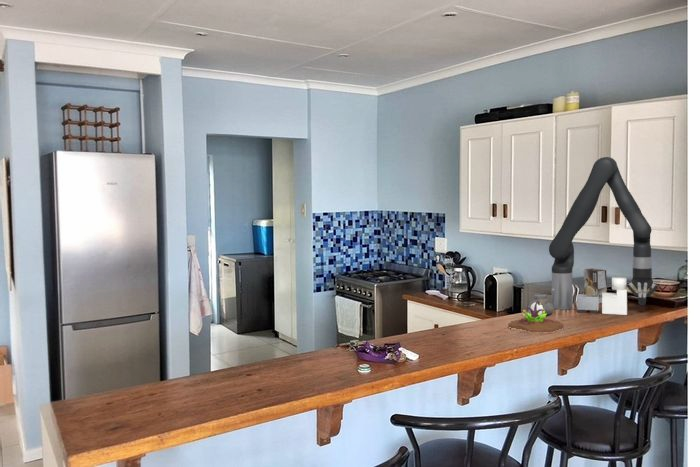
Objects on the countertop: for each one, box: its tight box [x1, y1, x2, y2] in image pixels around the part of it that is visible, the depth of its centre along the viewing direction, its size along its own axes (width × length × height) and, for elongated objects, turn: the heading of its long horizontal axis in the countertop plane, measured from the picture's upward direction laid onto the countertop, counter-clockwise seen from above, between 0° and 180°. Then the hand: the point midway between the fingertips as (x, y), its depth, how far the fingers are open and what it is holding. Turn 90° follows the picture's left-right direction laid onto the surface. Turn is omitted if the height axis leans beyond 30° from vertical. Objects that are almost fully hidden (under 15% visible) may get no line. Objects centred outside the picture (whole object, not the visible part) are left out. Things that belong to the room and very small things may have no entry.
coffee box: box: [583, 268, 608, 304], centre depth 285 cm, size 9×6×16 cm
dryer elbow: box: [601, 276, 628, 316], centre depth 257 cm, size 10×8×16 cm
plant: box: [507, 301, 564, 333], centre depth 236 cm, size 20×20×11 cm
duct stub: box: [576, 293, 600, 314], centre depth 262 cm, size 9×6×8 cm, turn 65°
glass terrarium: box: [527, 294, 555, 316], centre depth 257 cm, size 12×8×10 cm
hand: (642, 305), depth 253 cm, fingers closed
